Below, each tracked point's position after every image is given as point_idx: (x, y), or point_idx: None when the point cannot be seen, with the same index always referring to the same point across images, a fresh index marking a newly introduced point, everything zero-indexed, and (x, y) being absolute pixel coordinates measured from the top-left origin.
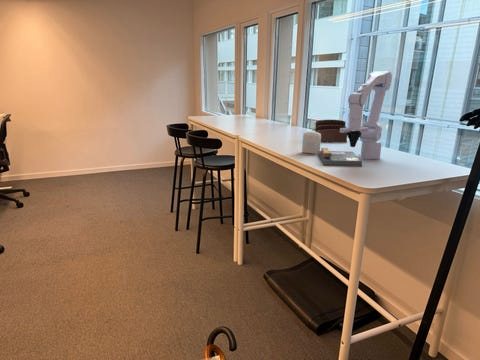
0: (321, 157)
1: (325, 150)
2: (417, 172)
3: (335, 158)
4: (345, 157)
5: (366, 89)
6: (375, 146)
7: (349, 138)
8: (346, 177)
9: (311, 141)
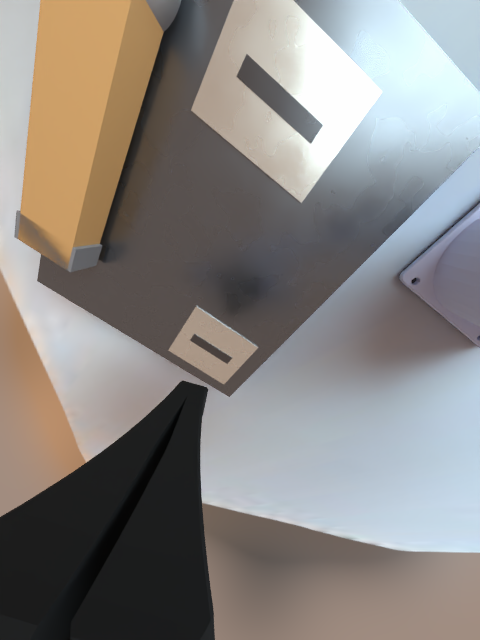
0: None
1: (59, 104)
2: (330, 496)
3: (126, 282)
4: (207, 295)
5: None
6: None
7: (108, 459)
8: (87, 421)
9: None
